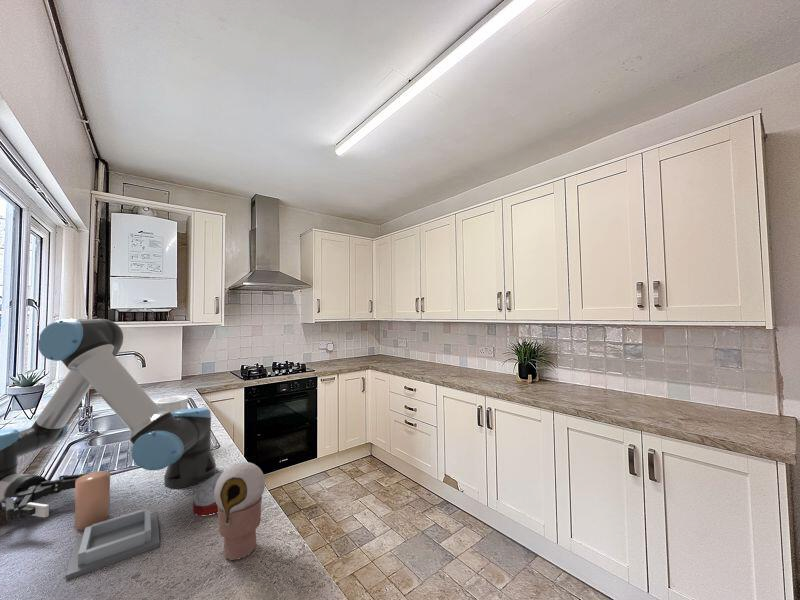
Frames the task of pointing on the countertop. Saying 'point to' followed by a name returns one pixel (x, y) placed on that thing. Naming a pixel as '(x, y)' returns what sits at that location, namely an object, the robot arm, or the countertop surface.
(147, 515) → the grey rectangular tray
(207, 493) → the canned food
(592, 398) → the countertop surface
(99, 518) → the peach round cylinder
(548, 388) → the countertop surface
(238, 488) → the ice cream cone
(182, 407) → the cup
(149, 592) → the countertop surface
